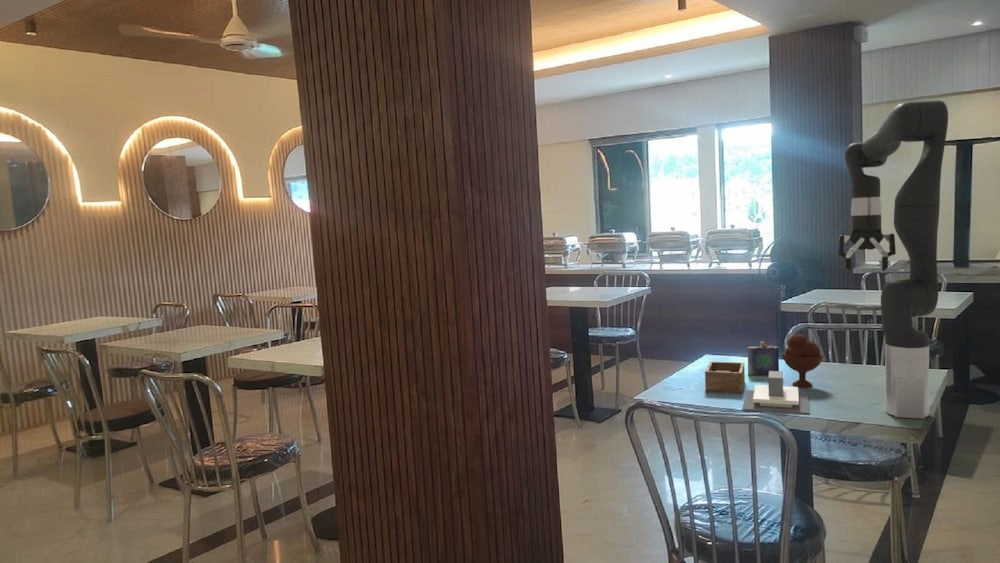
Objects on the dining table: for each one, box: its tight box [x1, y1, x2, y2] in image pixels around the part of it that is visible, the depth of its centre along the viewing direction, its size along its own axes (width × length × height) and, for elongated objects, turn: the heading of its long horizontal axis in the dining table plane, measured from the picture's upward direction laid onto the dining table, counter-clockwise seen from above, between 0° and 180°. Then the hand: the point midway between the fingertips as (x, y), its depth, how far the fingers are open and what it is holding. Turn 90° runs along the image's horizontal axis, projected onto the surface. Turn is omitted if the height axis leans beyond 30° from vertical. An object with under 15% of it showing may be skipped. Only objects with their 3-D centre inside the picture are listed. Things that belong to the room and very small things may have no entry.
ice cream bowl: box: [781, 333, 824, 389], centre depth 197 cm, size 11×11×15 cm
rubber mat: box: [741, 389, 811, 415], centre depth 182 cm, size 20×16×1 cm
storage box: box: [704, 361, 746, 395], centre depth 200 cm, size 14×10×6 cm
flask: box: [747, 340, 780, 377], centre depth 213 cm, size 9×3×11 cm, turn 76°
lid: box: [753, 370, 799, 407], centre depth 182 cm, size 15×11×7 cm
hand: (866, 270), depth 192 cm, fingers open, 8 cm apart
